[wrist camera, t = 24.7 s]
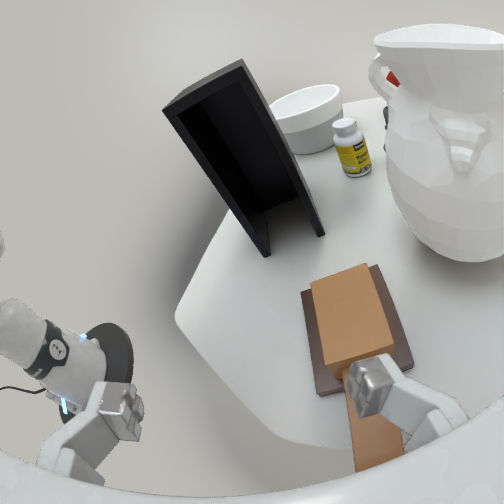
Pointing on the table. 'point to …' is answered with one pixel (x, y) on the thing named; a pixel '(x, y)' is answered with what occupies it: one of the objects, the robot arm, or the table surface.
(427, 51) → the pitcher
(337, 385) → the board
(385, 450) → the brown stepped block
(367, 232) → the table surface
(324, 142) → the bowl
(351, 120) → the supplement bottle
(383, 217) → the table surface
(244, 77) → the tall black box
